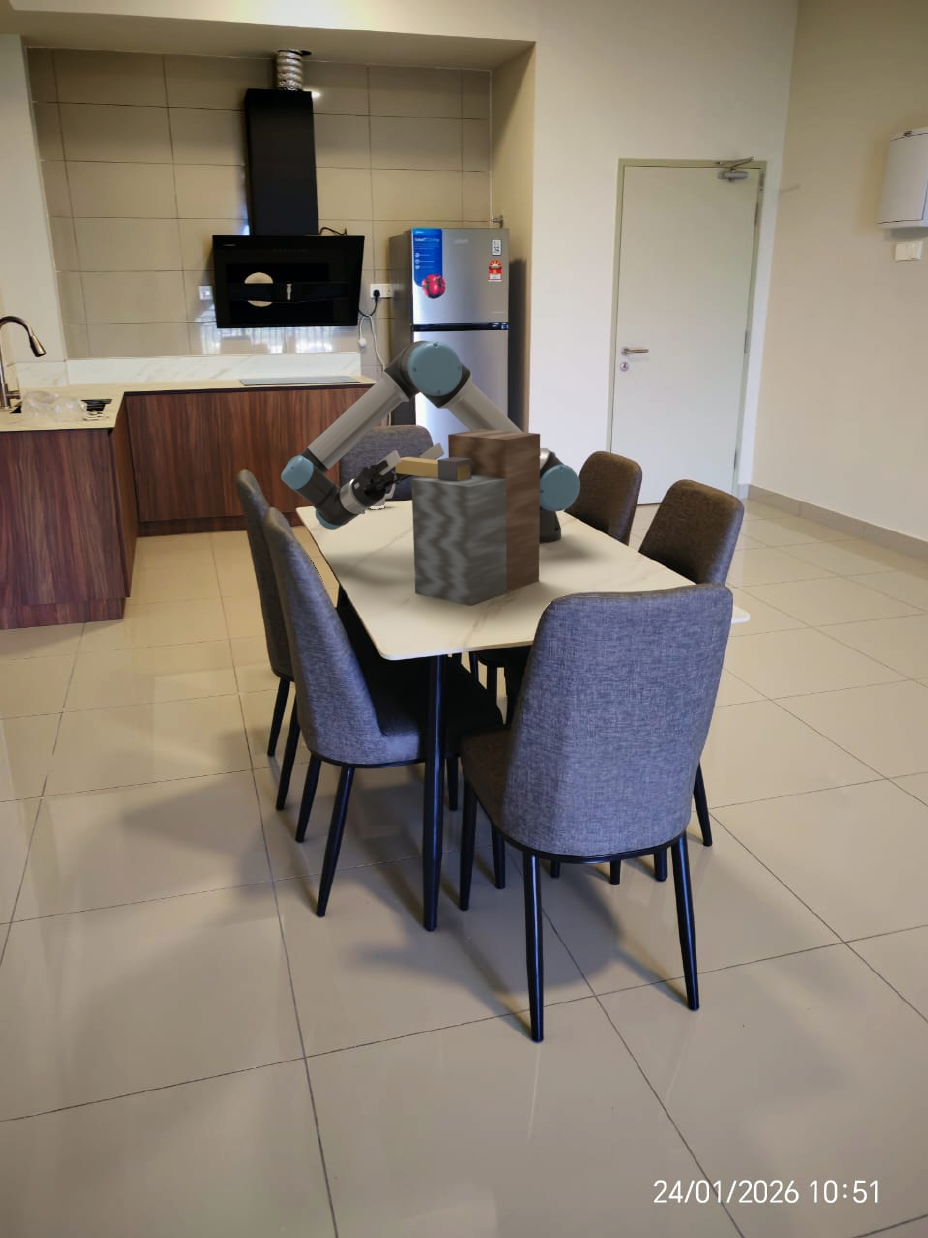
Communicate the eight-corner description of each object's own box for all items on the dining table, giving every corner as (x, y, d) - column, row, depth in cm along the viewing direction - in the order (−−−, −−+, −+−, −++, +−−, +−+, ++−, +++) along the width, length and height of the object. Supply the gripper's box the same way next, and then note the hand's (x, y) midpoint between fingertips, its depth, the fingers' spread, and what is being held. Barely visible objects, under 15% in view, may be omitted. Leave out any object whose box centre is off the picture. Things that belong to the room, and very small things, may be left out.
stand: (415, 592, 203) (409, 440, 193) (484, 569, 220) (483, 428, 210) (470, 605, 193) (468, 446, 183) (539, 580, 210) (540, 433, 200)
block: (393, 472, 203) (393, 454, 202) (409, 469, 207) (409, 451, 205) (455, 481, 192) (455, 461, 191) (471, 477, 196) (471, 458, 194)
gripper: (407, 498, 223) (464, 460, 209) (329, 515, 205) (386, 475, 191) (394, 470, 224) (451, 430, 209) (316, 485, 206) (371, 442, 191)
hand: (420, 452), depth 200 cm, fingers open, 13 cm apart
